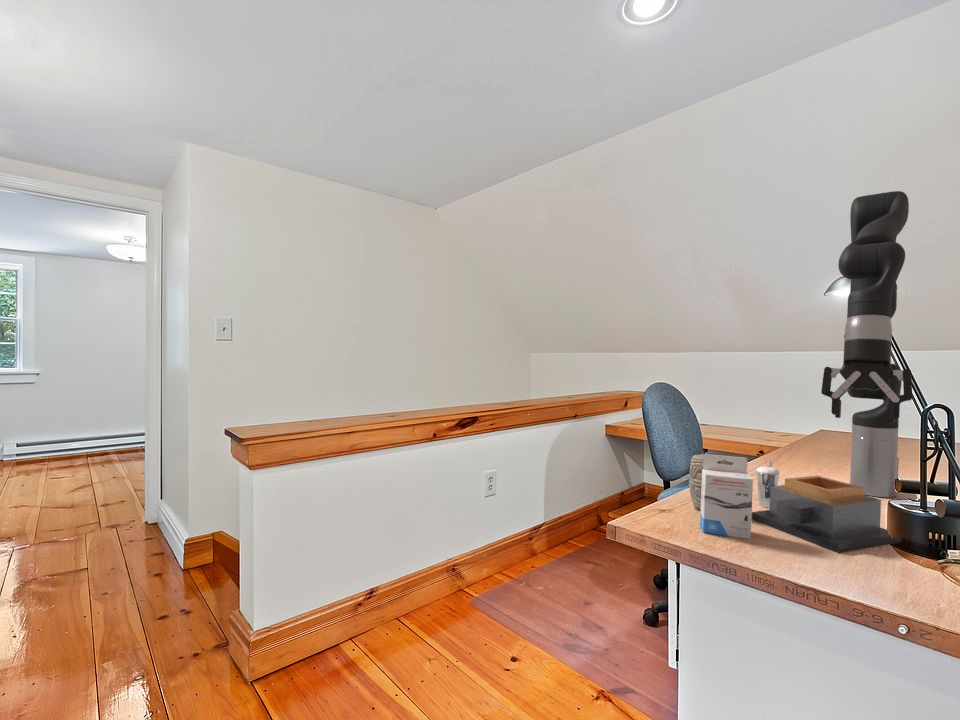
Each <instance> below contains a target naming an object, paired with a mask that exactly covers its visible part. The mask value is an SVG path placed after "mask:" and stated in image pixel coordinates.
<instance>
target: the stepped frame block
mask: <svg viewBox="0 0 960 720" xmlns="http://www.w3.org/2000/svg"><path fill="white" fill-rule="evenodd" d="M881 509H882V499H880V498H876V497H873V496H870V495H865V488H864V487H860V486H856V485H852V484H850V482H848V483H847V482H844V481H841V480H836V479H832V478H828V477H825V476H820V475H808V476H799V477H789V478H784V484H783V485H778V486H772V487H770V508H769V509H766V510H760V511H752V515H751V520H752V521H756V522H758V523H760V524H763V525H766V526H769V527H771V528H774V529H776V530H777V531H780V532H783V533H786V534H788V535H791V536H794V537H796V538H799V539H801V540H803V541H806V542H809V543H811V544H813V545H816V546H819V547H822V548H824V549H827V550H828V551H832V552H834V553H837V554H842V553H849V552H853V551H858V550H859V551H860V550H865V549H871V548H877V547H881V546H882V547H883V546H887V545H891V544H892V545H893V544H898V543H902V539H901V540H900V539H898V538H893V539H891V536H890V535H889V534H888V531H887V530H888V529H886V528H883V527H881V512H882V511H881Z"/></svg>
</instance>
